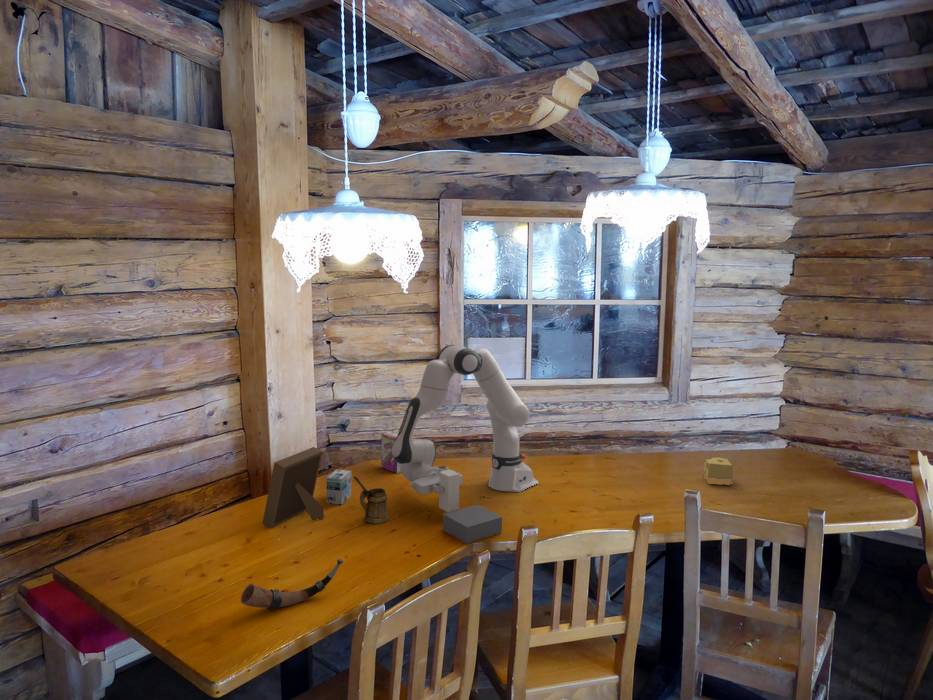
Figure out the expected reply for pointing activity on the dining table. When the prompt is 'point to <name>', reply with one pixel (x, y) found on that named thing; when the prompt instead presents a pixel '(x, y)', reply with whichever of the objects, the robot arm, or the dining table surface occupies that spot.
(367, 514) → the wooden mug
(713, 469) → the cheese
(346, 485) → the light bulb box
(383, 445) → the candy bar box
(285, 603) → the drinking horn
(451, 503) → the carton
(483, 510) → the podium
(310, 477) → the photo frame
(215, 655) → the dining table surface
